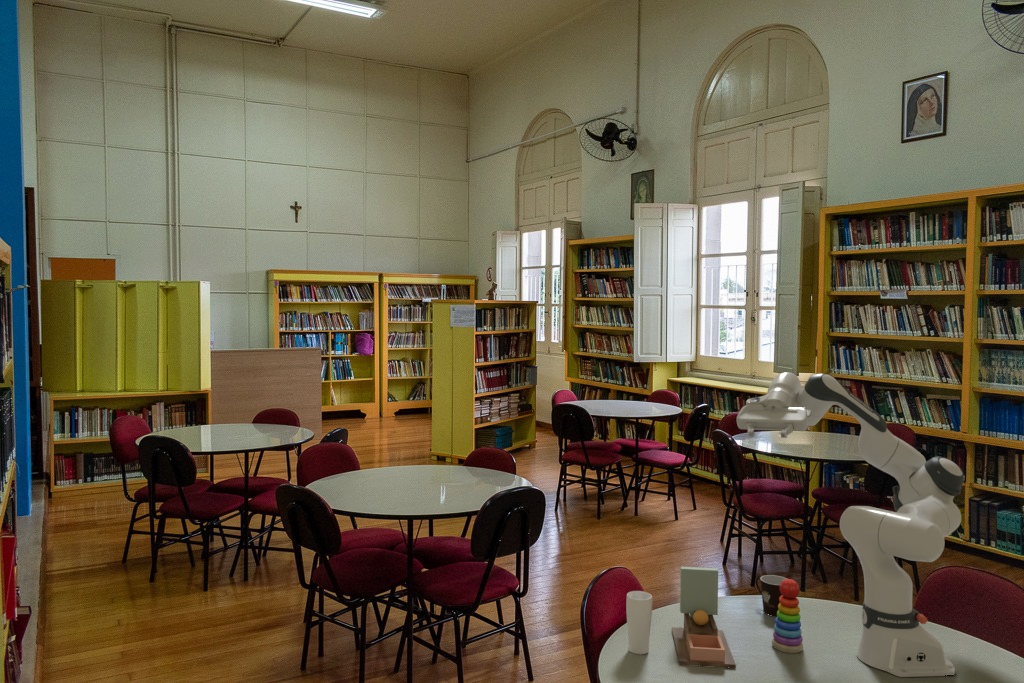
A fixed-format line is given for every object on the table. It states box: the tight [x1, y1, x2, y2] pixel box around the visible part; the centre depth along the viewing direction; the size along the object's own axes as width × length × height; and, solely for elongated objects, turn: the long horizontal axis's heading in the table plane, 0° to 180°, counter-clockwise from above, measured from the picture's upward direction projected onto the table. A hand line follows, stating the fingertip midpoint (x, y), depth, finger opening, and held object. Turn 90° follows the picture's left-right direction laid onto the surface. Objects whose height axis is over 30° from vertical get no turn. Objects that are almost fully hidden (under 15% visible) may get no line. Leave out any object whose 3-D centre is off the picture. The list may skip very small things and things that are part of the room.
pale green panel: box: [679, 566, 719, 618], centre depth 205 cm, size 10×2×14 cm, turn 83°
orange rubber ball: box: [693, 610, 708, 625], centre depth 201 cm, size 4×4×4 cm
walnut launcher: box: [671, 613, 737, 669], centre depth 197 cm, size 14×21×6 cm, turn 173°
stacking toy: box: [771, 578, 804, 654], centre depth 198 cm, size 8×8×19 cm
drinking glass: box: [625, 590, 653, 656], centre depth 195 cm, size 7×7×15 cm
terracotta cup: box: [686, 634, 725, 664], centre depth 191 cm, size 9×9×4 cm
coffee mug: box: [755, 574, 788, 617], centre depth 224 cm, size 12×9×10 cm
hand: (766, 435), depth 214 cm, fingers open, 8 cm apart
